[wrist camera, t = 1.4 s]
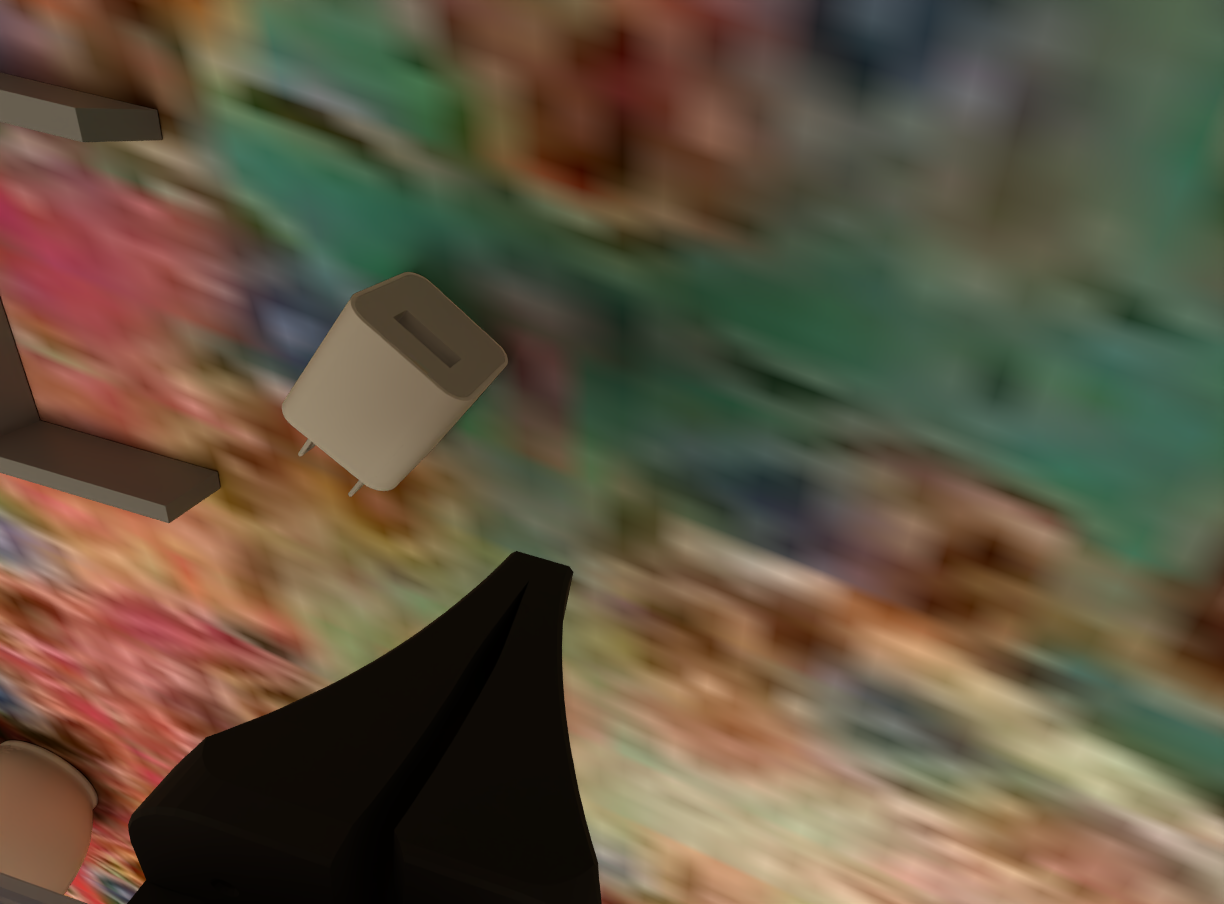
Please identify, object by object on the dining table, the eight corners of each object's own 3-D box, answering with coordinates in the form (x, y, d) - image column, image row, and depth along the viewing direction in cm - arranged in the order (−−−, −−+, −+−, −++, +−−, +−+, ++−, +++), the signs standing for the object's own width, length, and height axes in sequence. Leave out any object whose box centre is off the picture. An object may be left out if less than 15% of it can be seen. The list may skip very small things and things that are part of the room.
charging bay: (220, 488, 25) (169, 523, 22) (28, 432, 25) (-39, 460, 23) (157, 110, 18) (74, 108, 16) (-104, 47, 18) (-216, 37, 16)
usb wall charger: (514, 358, 19) (462, 408, 16) (406, 480, 23) (343, 544, 19) (415, 267, 19) (338, 300, 15) (318, 407, 22) (236, 460, 18)
